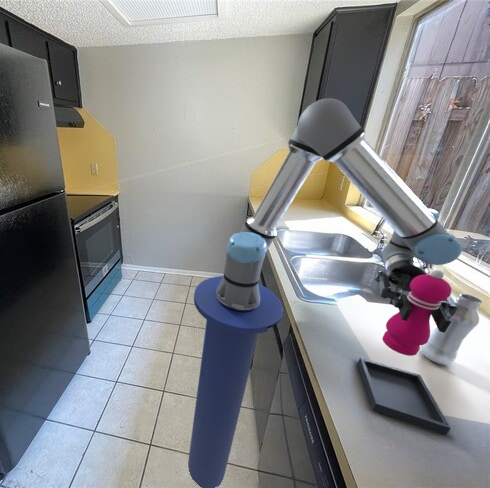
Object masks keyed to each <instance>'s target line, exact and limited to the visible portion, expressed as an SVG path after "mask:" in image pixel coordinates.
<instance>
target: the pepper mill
mask: <svg viewBox="0 0 490 488" xmlns="http://www.w3.org/2000/svg"><path fill="white" fill-rule="evenodd" d="M444 276H445V274H444V272H443V271H442V270H438V269H435V270H432V271H431V272H430V274H427V275H419V276H417V277H415V278H414V279H413V280H412V281H411V283H410V288H411V290H412V291H411V292H409V291H408V295H407V298H408V301H409V303H410V306H411V309H412V312H411V314H410V316H409V318H408V320H407V321H404V320H402V318H401V315H400V311H399V312H397V313H395V314H394V315H392V316H391V317H389V319H388V320H387V322H386V323H385V328H386V331H385V332H384V334H383V335H382V338H381V339H382V342H383V343H384V345H385V346H386V347H388V348H390V349H391V350H392V351H394V352H396V353H398V354H401V355H403V356H407V357H408V356H409V357H413V356H416V355H417V354H418V353H419V351H420V350H421V345H424V344H426V343H427V342H428V340H429V338H430V334H431V325H430V323H431V322H430V321H431V320H430V319H431V317H432V315H431V314H432V312H433V311H434V310H436V309H438V308H439V306H440V305H441V302H440V301H443V300H446V299H448V298H449V296H452V286H451V284H450V283H449V281H446V280H445V279H443V278H444Z"/></svg>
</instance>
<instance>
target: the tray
mask: <svg viewBox="0 0 490 488" xmlns="http://www.w3.org/2000/svg"><path fill="white" fill-rule="evenodd" d="M356 363H357V367H358V370H359V373H360V376H361V379H362V382H363V385H364V388H365V390H366V393H367V397H368V399H369V403H370V406H371V408H372V411H375V412H378V413H381V414H384V415H386V416H390V417H393V418H396V419H398V420H401V421H403V422H404V421H405V422H407V423H409V424H410V423H411V424H413V425H416V426H420V427H423V428H425V429H427V430H431V431H434V432H437V433H440V434H442V435H447V434H448V433H449V432H450V431H451V429H452V428H451V426H450V424H449V422H448V421H447V419H446V417H445V415H444V414H443V412H442V411H441V409H440V407H439V405H438V403H437V401H436V400H435V398H434V397H433V394H432V392H431V391H430V389H429V388H428V386H427V384H426V383H425V380H424V379H423V377H422V375H421V374H418V373H415V372H411V371H408V370H404V369H402V368H398V367H394V366H391V365H387V364H384V363H380V362H377V361H372V360H370V359H366V358H363V357H359V359H358V361H357V362H356Z"/></svg>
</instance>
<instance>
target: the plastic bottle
mask: <svg viewBox="0 0 490 488" xmlns="http://www.w3.org/2000/svg"><path fill="white" fill-rule="evenodd" d="M454 302H455V303H456V304H457V306H458V309H457V311H456V313H455V314H454V316H453V317H451V318H450V321H451V323H450V325H449V326H448V328H447V330H446V331H445V333H443V332H440V331H439V330H438V327H437V325H436V324H435V326H434V328H433V330H432V331H430V338H429V340H428V342H427V343H426V344H424V345H420V351H421V353H422V354H423V356H424V357H426V358H427V359H428V360H430V361H432V362H434V363H435V364H439V365H445V366H446V365H450V364H453V362H454V361H456V359H457V355H458V351H459V349H460V347H461V345H462V342H463V341H464V340H465V339H466V337H467V336H468V335H469V334H470V332H472V331H473V330H474V329H475V328H476V327H477V326H478V325H479V323H480V317H479V313H478V311H477V310H479V309H480V307H481V305H482V304H483V301H482V300H481V299H480V298H479V297H476V296H474V295H471V294H468V293H460V294H459V296H458V297H457V298H456V299H455V301H454Z"/></svg>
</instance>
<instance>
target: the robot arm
mask: <svg viewBox="0 0 490 488" xmlns="http://www.w3.org/2000/svg"><path fill="white" fill-rule="evenodd" d="M365 136H366V131H365V129H364V128H363V127H362V126H361V125H360V124H359V122H358V121H357V120H356V118H355V117H354V115H353V113H352V112H351V111H350V109H349V108H348V107H347V105H346V104H345V103H344V102H343V101H341V100H339V99H337V98H332V97H330V98H322V99H318V100H316V101H314V102H313V103H311V104H309V105H308V106H307V107H306V108H305V109H304V110H303V111H302V113H301V115H300V116H299V119H298V121H297V125H296V127H295V129H294V130H293V133H292V134H291V137H290V138H289V140H288V142H287V148H288V152H287V154H286V155H285V158H284V159H283V161H282V163H281V165H280V167H279V169H278V171H277V173H276V174H275V176H274V178H273V179H272V181H271V183H270V184H269V188H268V189H267V191H266V192H265V194H264V196H263V198H262V200H261V201H260V203H259V205H258V207H257V209H256V210H255V212H254V214H253V216H251V217H248V218H246V219H245V222H244V223H243V225H242V228H241V229H240V231H239V232H236V233H234V234H233V235H231V236H230V238H229V239H228V243H227V246H226V255H225V263H224V269H223V275H222V276H223V278H222V280H221V282H220V283H219V285H218V287H217V289H216V294H215V297H216V299H217V301H218V302H219V303H220V304H221V305H222V306H224V307H225V308H228V309H230V310H233V311H237V312H250V311H253V310H255V309H257V308H258V307H259V304H260V293H259V287H258V284H259V280H260V276H261V273H262V268H263V264H264V260H265V258H266V255H267V251H268V249H269V248H270V246H271V245H272V243H273V241H274V240H275V238H276V237H277V235H278V230H277V226H278V225H279V223H280V222H281V220H282V218H283V217H284V215H285V214H286V212H287V210H288V209H289V207H290V205H291V204H292V202H293V201H294V199H295V197H296V196H297V194H298V193H299V191H300V189H301V188H302V186H303V184H304V183H305V181H306V180H307V178H308V176H309V175H310V173H311V172H312V170H313V168H315V166H316V164H317V163H318V162H319V161H323V160H324V161H325V162H332V163H333V164H334V165H335V166H336V167H337V169H338V170H340V172H341V173H342V174H343V175H344V176H345V177H346V178H347V179H348V181H349V182H350V183H351V184H352V185H353V187H354V188H356V190H357V191H358V192H359V193H360V194H361V196H363V197H364V198H365V200H367V202H368V203H369V204H370V205H371V206H372V208H373V209H375V211H376V212H377V213H378V214H379V215H380V217H382V219H383V220H384V221H385V222H386V223H387V224H388V225H389V226H390V228H392V230H393V233H392V235H391V238H390V240H389V242H388V243H387V245H385V246H384V247H383V248H382V250H381V254H380V255H381V256H380V257H381V261H382V263H383V266H384V270H385V272H384V271H381V270H378V271H377V274H376V276H375V278H374V280H375V281H376V282H377V284H378V289H379V295H380V297H381V299H382V298H383V299H390V301H389V304H390V305H392V306H393V307H394V308H396V309H398V311H399V312H400V315H401V318H402V320H404V321H407V320H408V318H409V316H410V314H411V312H412V309H411V306H410V303H409V301H408V298H407V296H408V295H407V294H403V292H408V293H409V292H411V291H412V290H411V288H410V283H411V281H412V280H413V279H414V278H415V277H417V276H419V275H428V274H427V273H426V271H425V269H424V267H423V265H422V264H421V262H420V261H422V262H423V263H425V264H428V265H432V266H444V265H448V264H450V263H453V262H454V261H456V260H457V259H459V257H461V254H462V251H463V246H462V244H461V242H460V241H459V240H458V238H456V236H455V235H453V234H451V233H450V232H449V231H448V230H447V229H446V228H445V227H444V226H443V224H441V223H440V222H439V219H440V215H441V214H440V212H438V211H437V210H436V209H432V208H428V207H426V205H424V204H423V202H422V201H421V200H420V199H419V198H418V197H417V196H416V195H415V194H414V192H413V191H412V190H411V189H410V188H409V187H408V186H407V185H406V183H405V182H404V181H403V180H402V179H401V178H400V177H399V176H398V175H397V173H396V172H395V170H393V169H392V168H391V167H390V166H389V164H388V163H386V161H385V160H384V159H383V158H382V157H381V156H380V155H379V153H378V152H377V151H376V150H375V149H374V148H373V146H371V144H370V143H369V142H368V141H367V140H366V139H365ZM419 260H420V261H419ZM392 288H395V290H394V291H393V290H392ZM440 302H441V305H440V306H439V308H438V309H436V310H434V311H433V312H432V314H431V318H432V320H433V322H434V324H435V326H436V325H437V327H438V330H439V331H440V332H443V333H445V331H446V330H447V328H448V326H449V325H450V323H451V321H450V318H451V317H453V316H454V314H455V313H456V311H457V309H458V306H457V304H456V303H455V302H456V301H455V299H453V297H452V295H450V296H449V298H448V299H446V300H443V301H440Z"/></svg>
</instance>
